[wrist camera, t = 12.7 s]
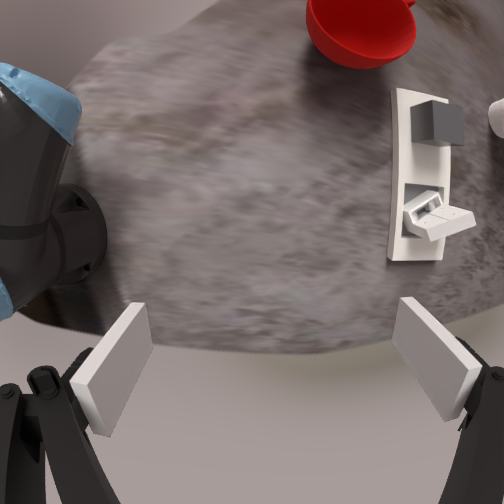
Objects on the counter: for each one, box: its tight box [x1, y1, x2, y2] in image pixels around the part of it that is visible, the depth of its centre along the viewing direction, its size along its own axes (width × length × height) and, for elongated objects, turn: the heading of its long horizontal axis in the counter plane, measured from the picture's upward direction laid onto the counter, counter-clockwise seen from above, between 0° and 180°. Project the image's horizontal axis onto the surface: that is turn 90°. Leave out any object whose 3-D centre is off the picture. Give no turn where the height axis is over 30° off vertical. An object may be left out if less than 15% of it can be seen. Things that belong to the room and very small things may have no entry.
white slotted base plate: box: [387, 88, 464, 261], centre depth 34 cm, size 9×24×8 cm, turn 0°
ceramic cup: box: [306, 0, 416, 69], centre depth 28 cm, size 13×17×10 cm
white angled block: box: [403, 190, 476, 242], centre depth 35 cm, size 4×10×9 cm, turn 122°
